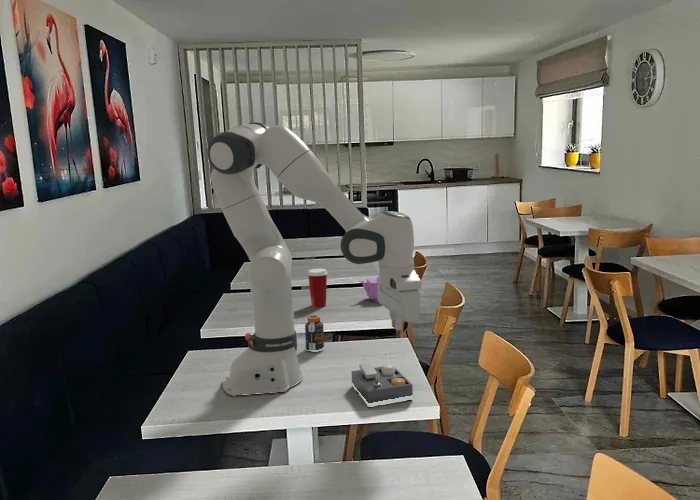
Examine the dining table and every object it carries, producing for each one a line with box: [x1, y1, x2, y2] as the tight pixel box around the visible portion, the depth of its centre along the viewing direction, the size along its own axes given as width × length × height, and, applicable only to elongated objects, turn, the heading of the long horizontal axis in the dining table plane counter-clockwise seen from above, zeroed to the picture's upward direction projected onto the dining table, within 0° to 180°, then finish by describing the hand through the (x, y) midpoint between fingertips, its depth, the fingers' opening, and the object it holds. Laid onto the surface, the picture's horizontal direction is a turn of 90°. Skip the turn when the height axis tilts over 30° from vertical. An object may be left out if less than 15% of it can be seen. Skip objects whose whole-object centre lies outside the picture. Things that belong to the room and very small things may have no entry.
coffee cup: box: [307, 268, 328, 309], centre depth 238 cm, size 8×8×15 cm
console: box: [351, 366, 413, 403], centre depth 153 cm, size 12×14×8 cm
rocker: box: [359, 361, 377, 379], centre depth 155 cm, size 3×6×1 cm, turn 17°
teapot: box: [358, 276, 379, 303], centre depth 246 cm, size 18×13×10 cm
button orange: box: [391, 378, 405, 386], centre depth 151 cm, size 4×4×4 cm
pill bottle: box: [304, 314, 325, 351], centre depth 187 cm, size 6×6×11 cm
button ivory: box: [381, 363, 396, 376], centre depth 157 cm, size 4×4×4 cm
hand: (397, 328), depth 148 cm, fingers closed
